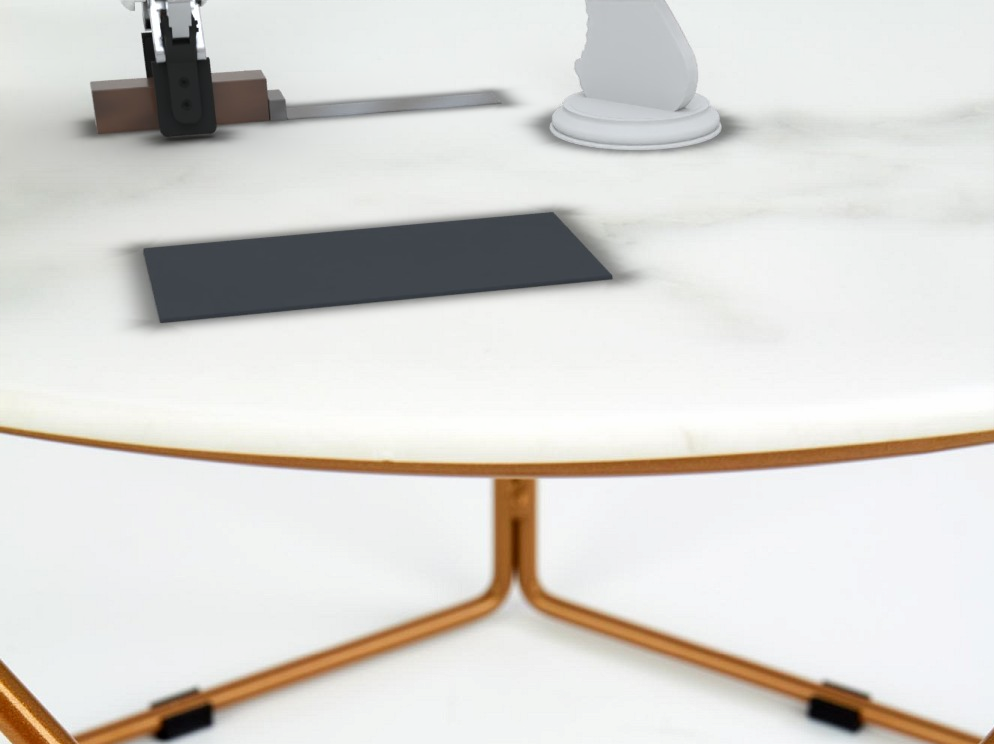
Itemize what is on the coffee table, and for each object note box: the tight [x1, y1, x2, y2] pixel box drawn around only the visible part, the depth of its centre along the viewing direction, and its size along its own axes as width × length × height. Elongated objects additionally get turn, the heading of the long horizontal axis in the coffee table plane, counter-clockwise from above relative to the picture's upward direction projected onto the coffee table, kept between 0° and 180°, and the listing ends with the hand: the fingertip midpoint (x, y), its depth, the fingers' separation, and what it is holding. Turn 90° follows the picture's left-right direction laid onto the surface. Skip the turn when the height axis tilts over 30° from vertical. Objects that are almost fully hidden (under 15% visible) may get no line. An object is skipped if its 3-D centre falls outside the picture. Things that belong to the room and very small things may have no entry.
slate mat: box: [143, 211, 613, 324], centre depth 79 cm, size 20×10×1 cm, turn 104°
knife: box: [89, 69, 502, 135], centre depth 102 cm, size 24×3×3 cm, turn 104°
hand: (182, 115), depth 101 cm, fingers open, 7 cm apart
